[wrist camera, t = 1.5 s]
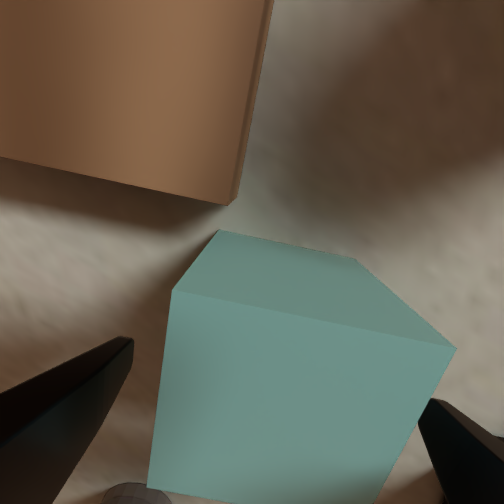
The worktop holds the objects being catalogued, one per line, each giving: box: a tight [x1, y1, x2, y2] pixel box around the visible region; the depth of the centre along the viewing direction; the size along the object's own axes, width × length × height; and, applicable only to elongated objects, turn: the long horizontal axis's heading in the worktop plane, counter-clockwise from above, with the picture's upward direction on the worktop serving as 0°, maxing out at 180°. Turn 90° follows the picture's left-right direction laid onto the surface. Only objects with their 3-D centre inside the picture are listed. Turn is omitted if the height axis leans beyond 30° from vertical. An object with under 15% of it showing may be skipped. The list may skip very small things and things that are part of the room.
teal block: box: [146, 230, 457, 504], centre depth 9 cm, size 6×6×6 cm
